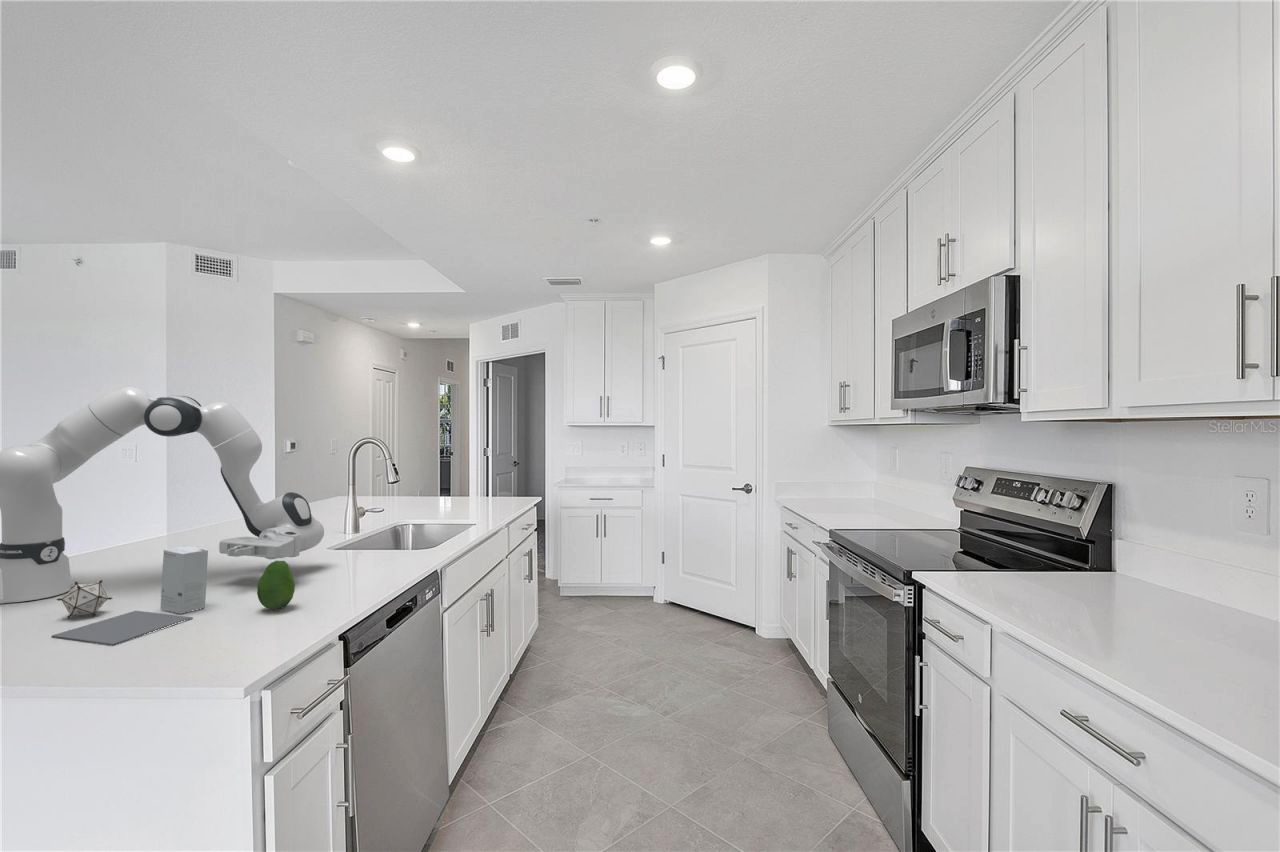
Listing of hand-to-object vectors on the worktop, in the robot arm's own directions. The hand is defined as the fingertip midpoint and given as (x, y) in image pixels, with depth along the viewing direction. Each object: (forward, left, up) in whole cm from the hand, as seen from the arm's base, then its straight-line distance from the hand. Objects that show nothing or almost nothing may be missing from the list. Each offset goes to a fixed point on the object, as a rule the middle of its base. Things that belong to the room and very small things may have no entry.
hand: (231, 553), depth 158 cm
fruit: (+21, -7, -11) cm, 25 cm away
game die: (-17, -23, -11) cm, 31 cm away
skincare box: (0, -13, -11) cm, 17 cm away
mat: (0, -26, -11) cm, 29 cm away
